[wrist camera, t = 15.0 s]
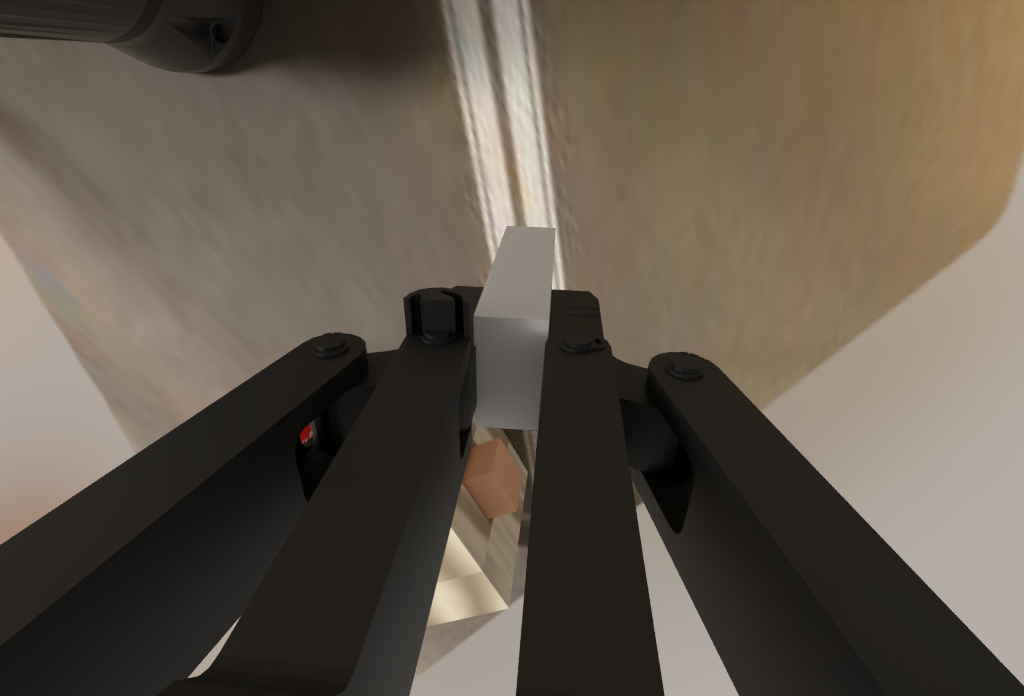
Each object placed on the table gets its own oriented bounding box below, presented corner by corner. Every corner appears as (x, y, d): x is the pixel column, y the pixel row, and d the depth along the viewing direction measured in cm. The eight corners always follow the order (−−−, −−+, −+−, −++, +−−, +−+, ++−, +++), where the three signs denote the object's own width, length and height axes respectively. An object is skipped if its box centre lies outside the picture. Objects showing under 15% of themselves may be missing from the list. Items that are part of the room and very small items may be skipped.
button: (499, 437, 50) (491, 472, 46) (522, 474, 52) (516, 511, 47) (447, 455, 52) (435, 490, 47) (471, 490, 54) (461, 527, 49)
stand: (463, 364, 55) (415, 478, 40) (527, 471, 61) (509, 608, 45) (388, 394, 58) (316, 511, 43) (456, 493, 64) (415, 629, 49)
